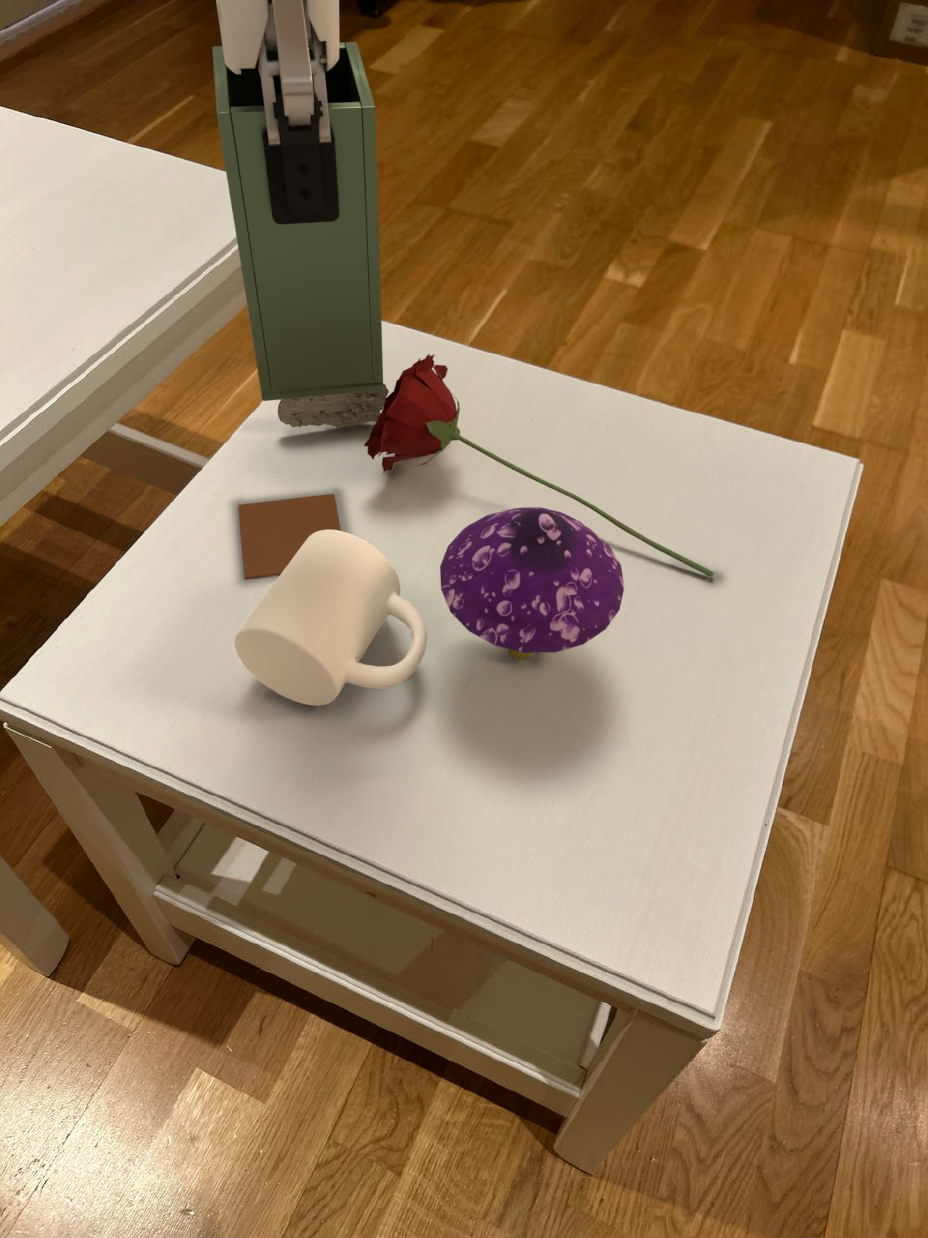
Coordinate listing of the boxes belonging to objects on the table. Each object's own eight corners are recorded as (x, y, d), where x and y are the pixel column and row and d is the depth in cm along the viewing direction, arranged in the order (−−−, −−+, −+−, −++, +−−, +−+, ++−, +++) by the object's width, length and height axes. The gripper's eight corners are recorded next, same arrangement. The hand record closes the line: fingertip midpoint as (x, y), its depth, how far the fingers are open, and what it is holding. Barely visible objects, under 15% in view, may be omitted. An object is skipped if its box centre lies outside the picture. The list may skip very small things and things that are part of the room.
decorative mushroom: (408, 686, 68) (406, 549, 56) (477, 568, 75) (489, 424, 63) (568, 752, 65) (603, 622, 53) (625, 623, 72) (666, 482, 60)
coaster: (244, 579, 73) (244, 577, 73) (238, 506, 78) (238, 504, 78) (346, 566, 74) (346, 564, 74) (334, 495, 79) (334, 493, 79)
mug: (242, 681, 67) (224, 613, 61) (310, 584, 73) (300, 513, 67) (391, 742, 65) (388, 679, 59) (450, 638, 71) (453, 569, 64)
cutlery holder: (262, 401, 54) (216, 112, 41) (255, 328, 58) (212, 45, 45) (383, 391, 55) (375, 106, 42) (368, 320, 59) (356, 41, 46)
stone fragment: (279, 434, 83) (275, 389, 79) (279, 428, 83) (275, 384, 79) (388, 425, 85) (389, 382, 81) (387, 420, 85) (388, 377, 81)
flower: (721, 582, 68) (366, 390, 71) (665, 655, 77) (351, 481, 79) (761, 490, 74) (434, 317, 77) (705, 567, 83) (412, 409, 86)
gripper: (147, -353, 38) (218, 103, 52) (140, -254, 28) (231, 281, 42) (332, -347, 39) (353, 98, 53) (391, -250, 29) (397, 270, 43)
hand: (299, 176), depth 47 cm, fingers closed on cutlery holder, 7 cm apart
